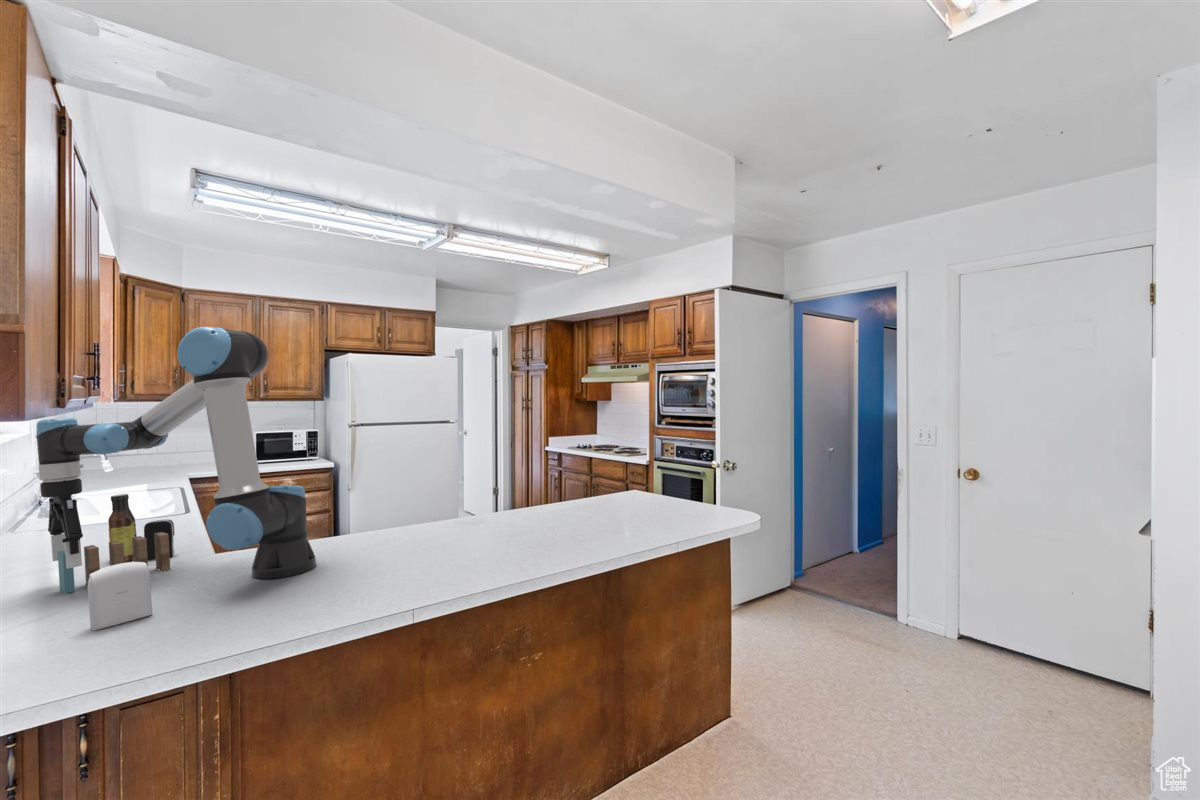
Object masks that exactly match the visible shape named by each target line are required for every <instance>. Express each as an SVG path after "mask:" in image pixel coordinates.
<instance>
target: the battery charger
mask: <svg viewBox="0 0 1200 800" xmlns="http://www.w3.org/2000/svg"><path fill="white" fill-rule="evenodd" d="M159 532H163V533H167V534H168V536H169V554H170V558H173V557H174V556H175V550H174V536H175V535H176V534H175V523H174V521H173V520H171V519H159V520H151V521H149V522H147V523H146V524H144V526H143V537H144V538H146V541H147V558H148V561H153V560H156V556H155V539H154V533H159Z"/></svg>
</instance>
